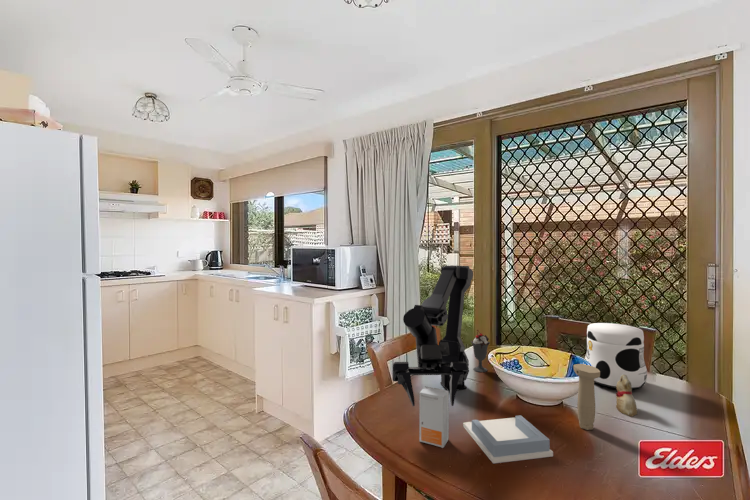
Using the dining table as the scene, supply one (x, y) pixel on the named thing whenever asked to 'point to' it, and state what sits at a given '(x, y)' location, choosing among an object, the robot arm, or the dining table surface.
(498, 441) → the stop cradle
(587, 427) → the handle
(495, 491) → the dining table surface
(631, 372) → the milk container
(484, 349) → the sundae
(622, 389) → the chocolate bunny
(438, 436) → the skincare box
